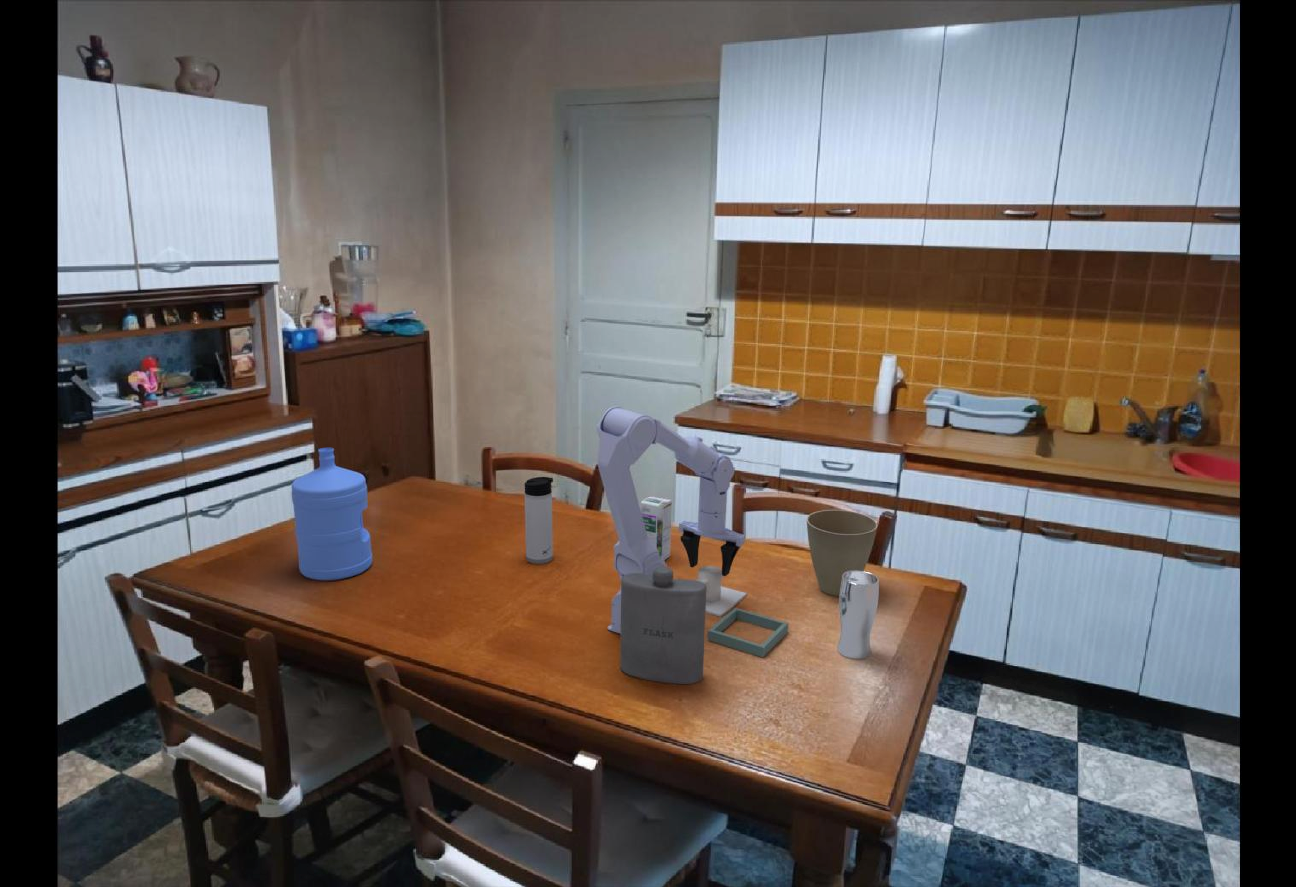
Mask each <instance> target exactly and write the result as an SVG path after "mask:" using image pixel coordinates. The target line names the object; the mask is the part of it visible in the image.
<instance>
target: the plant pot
mask: <svg viewBox="0 0 1296 887" xmlns="http://www.w3.org/2000/svg"><path fill="white" fill-rule="evenodd" d="M878 525H879V524H878V523H877V521H876V519H874V518H872V517H871V516H868V515H866V514H864V513H860V512H856V511H852V510H851V511H850V510H845V509H843V510H842V509H823V510H819V511H813V512H811V513H810V514H808V515H807V517H806V531H807V540H808V546H809V552H810V558H811V563H812V566H813V570H814V574H815V577H816V580H817V583H818V587H819V589H820V590H821V591H822V592H823V593H825V594H827V595H830V596H835V597H839V594H840V587H841V581H842V575H843V573H845V572H847V571H852V570H859V571H865V569H866V567H867V563H868V561H869V558H870V554H871V552H872V549H873V545H874V542H875V538H876V534H877V530H878Z"/></svg>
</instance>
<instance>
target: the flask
mask: <svg viewBox="0 0 1296 887" xmlns="http://www.w3.org/2000/svg"><path fill="white" fill-rule="evenodd" d="M697 580H698V579H696V580H695V579H685V578H684V579H683V578H680V579H678V578H674V570H673V569H671V568H670V567H668V566H667V567H658V568H656V569H654V570H653V576H651V575H646V574H641V573H631V574H627V575H625V576H623V577H622V579H621V580H620V588H621V634H620V655H619V656H620V666H619V668H620V670H621V672H623V673H624V674H626V675H629V676H631V677H634V678H637V679H640V680H641V679H642V680H646V681H651V682H657V683H663V684H664V683H665V684H676V685H693V684H697V683H699V682H700V681H702V680H703V678H704V660H705V659H704V656H705V636H706V635H705V634H706V613H705V612H706V585H705V584H704V583H702V582H700V581H697Z"/></svg>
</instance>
